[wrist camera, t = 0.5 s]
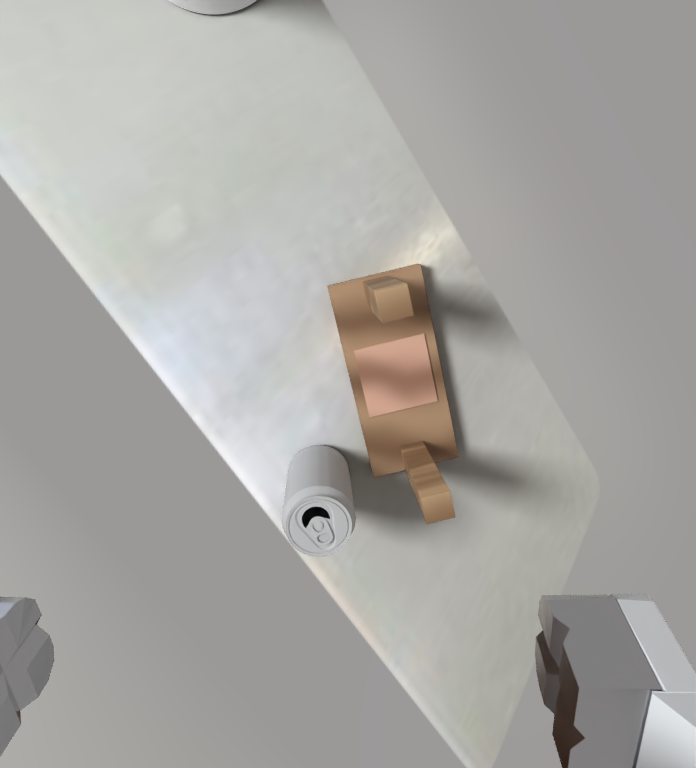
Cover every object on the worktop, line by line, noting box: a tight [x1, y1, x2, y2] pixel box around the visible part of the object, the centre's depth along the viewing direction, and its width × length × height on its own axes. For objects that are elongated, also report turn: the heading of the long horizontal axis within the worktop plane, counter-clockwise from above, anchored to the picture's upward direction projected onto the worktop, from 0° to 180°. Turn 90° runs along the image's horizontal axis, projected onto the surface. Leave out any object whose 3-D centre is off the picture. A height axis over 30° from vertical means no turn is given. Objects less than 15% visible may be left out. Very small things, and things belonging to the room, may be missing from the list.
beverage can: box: [282, 445, 356, 557], centre depth 52 cm, size 6×6×12 cm
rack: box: [328, 264, 459, 524], centre depth 49 cm, size 20×9×14 cm, turn 13°
